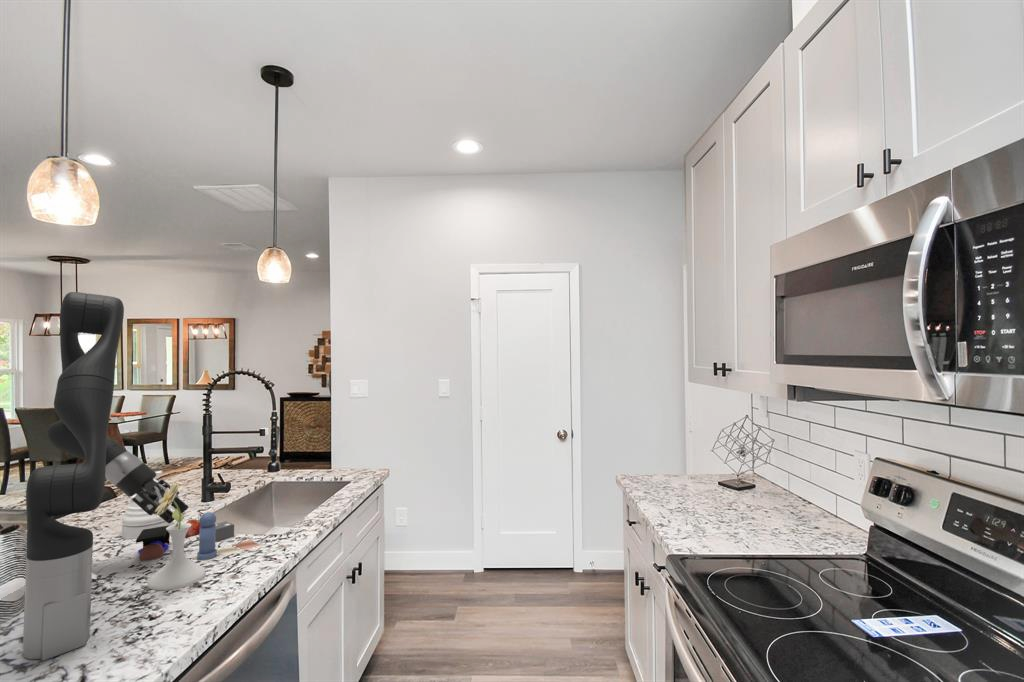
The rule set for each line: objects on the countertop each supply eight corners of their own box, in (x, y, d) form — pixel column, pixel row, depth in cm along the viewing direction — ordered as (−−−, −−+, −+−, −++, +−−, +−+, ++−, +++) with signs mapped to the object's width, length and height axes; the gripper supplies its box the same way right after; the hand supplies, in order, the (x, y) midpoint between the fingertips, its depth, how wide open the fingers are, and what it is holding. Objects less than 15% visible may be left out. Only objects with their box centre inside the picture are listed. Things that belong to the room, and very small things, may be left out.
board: (264, 550, 138) (264, 544, 138) (202, 570, 125) (202, 564, 125) (248, 544, 143) (249, 538, 143) (187, 562, 130) (188, 557, 130)
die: (233, 541, 145) (234, 523, 145) (215, 547, 140) (216, 528, 141) (225, 538, 147) (225, 520, 148) (207, 543, 143) (207, 525, 143)
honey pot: (171, 522, 162) (173, 466, 163) (174, 532, 152) (176, 473, 153) (121, 530, 155) (123, 472, 155) (121, 542, 144) (123, 479, 145)
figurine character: (141, 555, 139) (133, 568, 126) (142, 526, 140) (134, 536, 127) (170, 550, 142) (165, 562, 129) (171, 522, 143) (167, 532, 130)
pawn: (220, 556, 130) (221, 511, 131) (202, 561, 127) (203, 516, 127) (211, 552, 133) (212, 509, 133) (193, 557, 129) (195, 513, 130)
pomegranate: (186, 541, 150) (169, 532, 144) (198, 523, 153) (182, 514, 147) (201, 545, 148) (184, 536, 142) (212, 527, 151) (196, 517, 146)
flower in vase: (156, 579, 120) (159, 475, 121) (210, 572, 124) (212, 471, 125) (137, 604, 108) (140, 488, 108) (197, 595, 112) (200, 483, 113)
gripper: (128, 468, 120) (181, 512, 122) (153, 457, 133) (200, 496, 136) (101, 492, 118) (156, 536, 121) (129, 478, 132) (177, 518, 134)
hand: (179, 515), depth 128 cm, fingers open, 8 cm apart
